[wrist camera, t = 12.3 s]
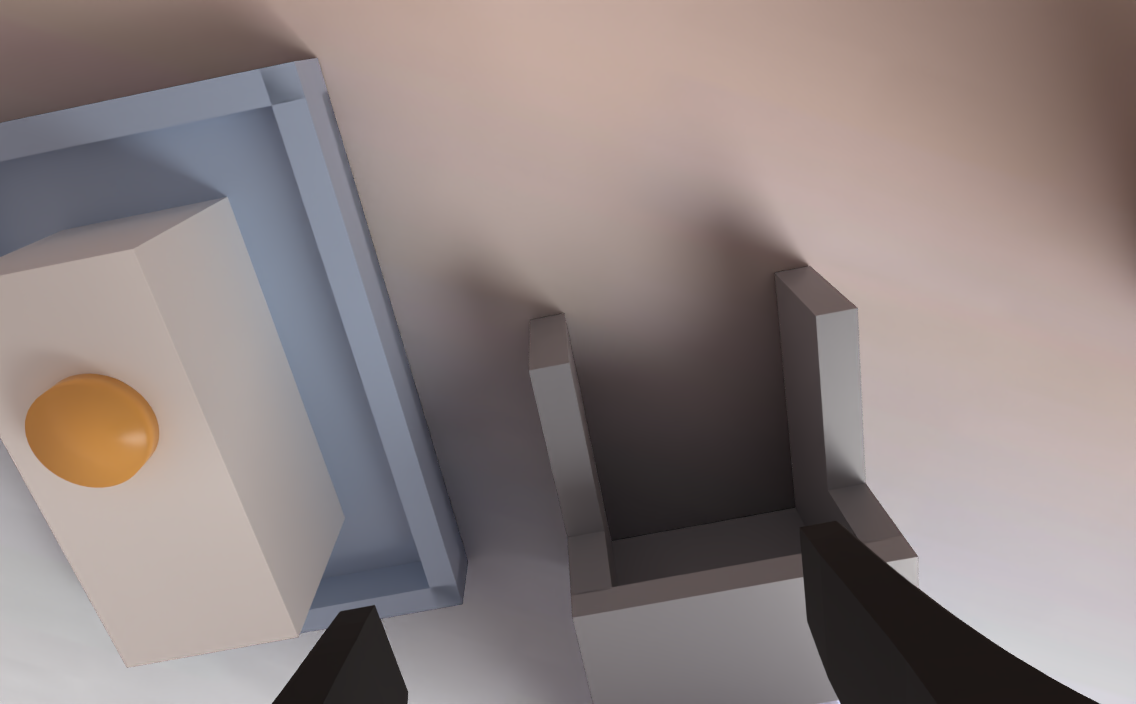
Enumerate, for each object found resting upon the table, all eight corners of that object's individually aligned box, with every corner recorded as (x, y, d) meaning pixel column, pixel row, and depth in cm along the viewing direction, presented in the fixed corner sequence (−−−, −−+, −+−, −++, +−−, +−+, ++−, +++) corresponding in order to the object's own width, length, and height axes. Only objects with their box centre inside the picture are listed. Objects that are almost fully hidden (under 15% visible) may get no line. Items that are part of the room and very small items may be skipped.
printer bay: (828, 528, 25) (920, 685, 19) (586, 571, 25) (601, 740, 19) (809, 266, 22) (915, 358, 16) (529, 319, 22) (527, 431, 16)
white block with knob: (345, 517, 24) (291, 655, 18) (206, 543, 24) (115, 686, 19) (227, 196, 20) (118, 256, 15) (62, 229, 20) (-104, 301, 15)
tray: (467, 561, 25) (462, 604, 23) (154, 618, 26) (125, 664, 24) (317, 57, 19) (294, 61, 17) (-90, 142, 20) (-155, 155, 18)
